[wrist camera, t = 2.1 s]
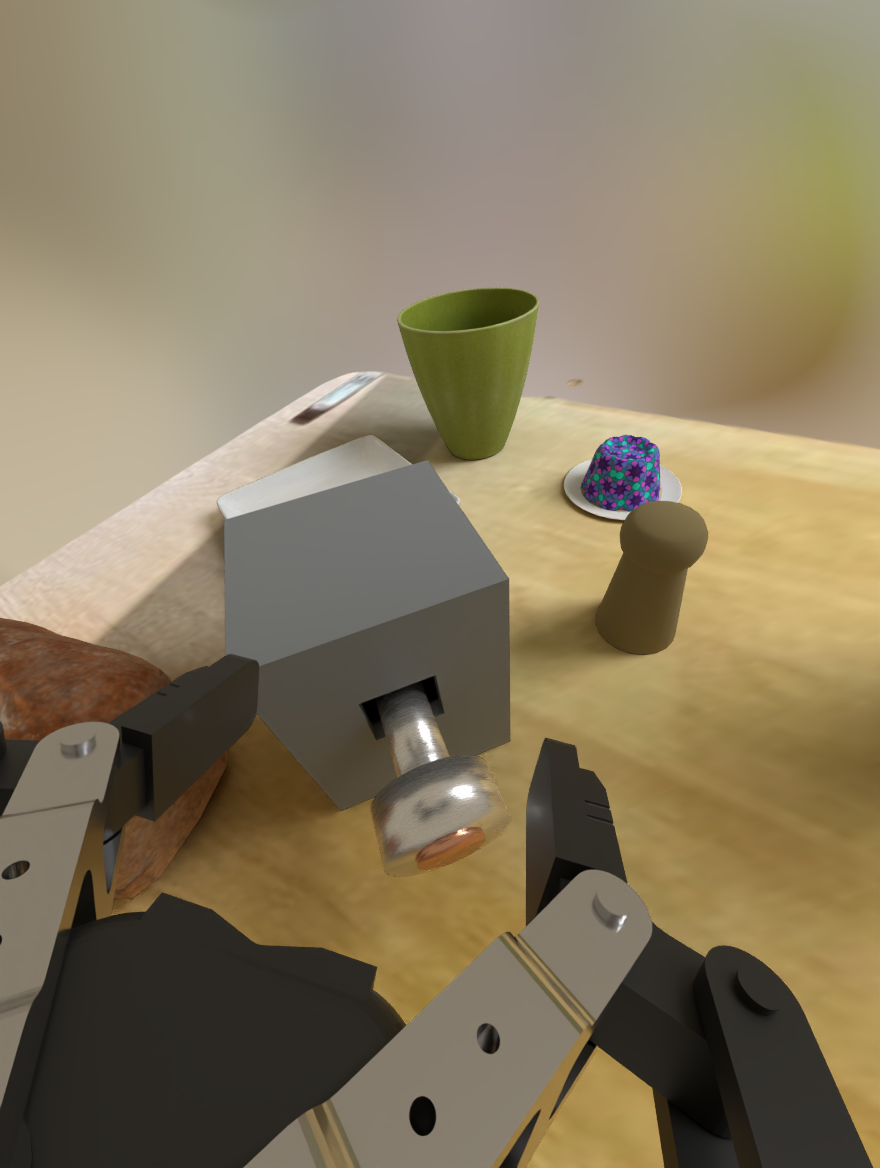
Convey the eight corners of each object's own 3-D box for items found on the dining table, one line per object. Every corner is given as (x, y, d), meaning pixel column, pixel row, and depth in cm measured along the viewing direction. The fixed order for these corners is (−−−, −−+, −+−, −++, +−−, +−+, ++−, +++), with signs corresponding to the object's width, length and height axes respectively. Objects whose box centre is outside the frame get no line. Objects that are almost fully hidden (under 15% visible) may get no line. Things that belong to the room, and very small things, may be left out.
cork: (687, 615, 36) (736, 505, 28) (657, 668, 33) (703, 560, 25) (615, 586, 39) (641, 478, 31) (582, 631, 36) (601, 525, 28)
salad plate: (224, 518, 54) (210, 495, 52) (376, 453, 61) (370, 429, 58) (282, 624, 41) (267, 600, 38) (468, 526, 48) (465, 499, 45)
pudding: (545, 508, 48) (548, 465, 44) (585, 453, 54) (591, 412, 51) (662, 538, 43) (677, 493, 39) (692, 474, 49) (707, 430, 45)
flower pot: (398, 446, 60) (371, 315, 49) (482, 408, 65) (476, 280, 54) (466, 492, 51) (453, 343, 40) (558, 442, 56) (570, 298, 45)
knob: (444, 681, 27) (433, 624, 23) (514, 843, 21) (514, 803, 17) (356, 715, 26) (328, 662, 22) (400, 894, 20) (371, 865, 16)
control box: (453, 626, 38) (427, 460, 26) (510, 741, 30) (509, 578, 19) (315, 675, 36) (224, 519, 25) (340, 810, 29) (225, 678, 17)
